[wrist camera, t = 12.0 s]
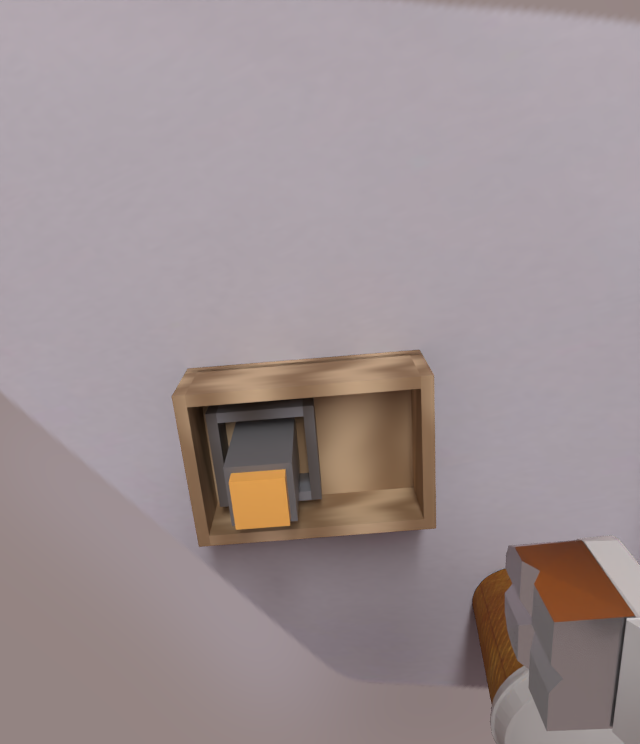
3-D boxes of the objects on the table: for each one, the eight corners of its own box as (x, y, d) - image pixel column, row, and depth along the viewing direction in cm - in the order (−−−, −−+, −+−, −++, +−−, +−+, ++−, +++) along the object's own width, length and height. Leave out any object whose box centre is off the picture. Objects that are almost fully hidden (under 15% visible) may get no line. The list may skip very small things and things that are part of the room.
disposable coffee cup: (588, 611, 48) (673, 749, 37) (485, 660, 50) (537, 807, 39) (537, 530, 45) (613, 653, 34) (431, 585, 47) (469, 720, 36)
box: (419, 349, 40) (434, 375, 35) (422, 488, 44) (435, 528, 39) (187, 368, 40) (171, 396, 36) (210, 505, 44) (198, 546, 39)
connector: (294, 412, 40) (291, 471, 33) (299, 463, 42) (297, 530, 34) (237, 417, 40) (220, 476, 33) (244, 468, 42) (229, 536, 34)
